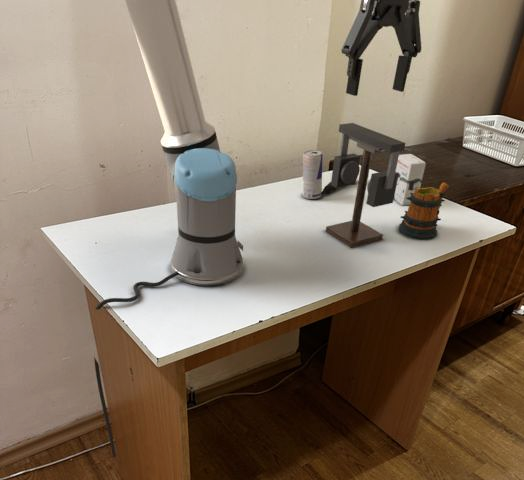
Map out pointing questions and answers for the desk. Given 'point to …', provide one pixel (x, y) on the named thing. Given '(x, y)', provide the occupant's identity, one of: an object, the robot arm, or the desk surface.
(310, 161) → the energy drink
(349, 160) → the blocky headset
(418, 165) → the ink box
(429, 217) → the mug
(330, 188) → the microphone
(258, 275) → the desk surface
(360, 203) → the stand
